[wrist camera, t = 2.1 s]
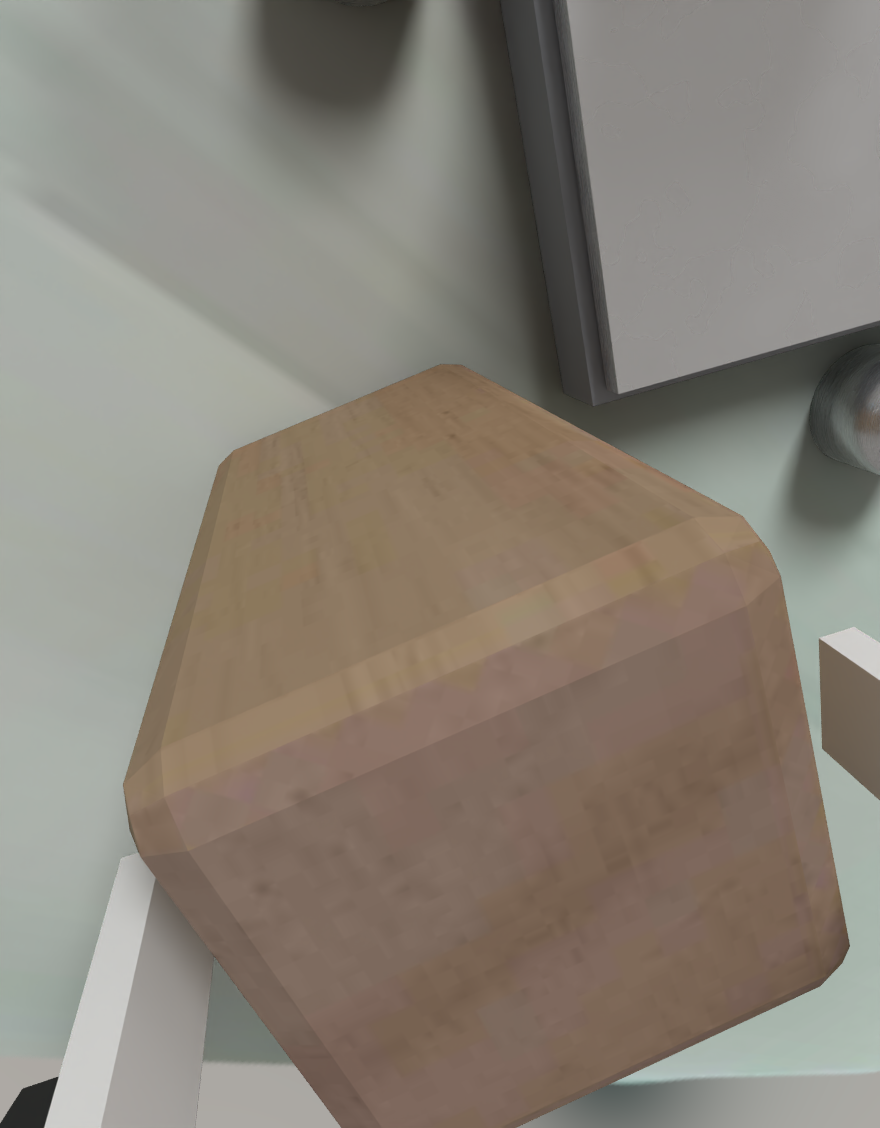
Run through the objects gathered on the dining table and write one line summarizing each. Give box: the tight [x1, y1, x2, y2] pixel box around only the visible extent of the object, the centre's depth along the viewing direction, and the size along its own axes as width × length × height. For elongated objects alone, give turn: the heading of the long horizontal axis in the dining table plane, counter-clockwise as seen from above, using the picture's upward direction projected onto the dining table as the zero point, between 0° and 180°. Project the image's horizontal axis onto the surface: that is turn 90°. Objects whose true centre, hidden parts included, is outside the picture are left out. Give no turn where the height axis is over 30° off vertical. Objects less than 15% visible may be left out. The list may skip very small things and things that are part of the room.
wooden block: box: [123, 364, 850, 1128], centre depth 21 cm, size 10×10×20 cm
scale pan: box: [553, 0, 880, 394], centre depth 25 cm, size 15×15×4 cm
